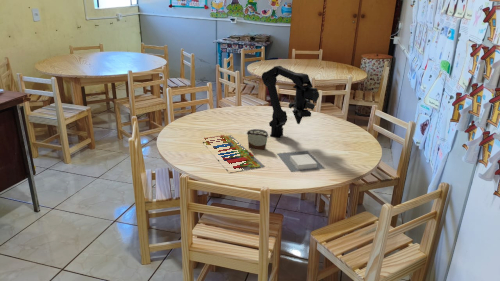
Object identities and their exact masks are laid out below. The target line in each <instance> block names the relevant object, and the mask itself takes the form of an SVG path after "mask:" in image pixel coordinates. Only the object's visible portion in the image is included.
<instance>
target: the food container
mask: <svg viewBox="0 0 500 281" xmlns="http://www.w3.org/2000/svg"><path fill="white" fill-rule="evenodd" d="M246 135H247V142H248V149H251V150H252V149H254V150H259V151H260V150H261V151H266V147H267V141H268V137H269V132H268V131H266V130H264V129H259V128H254V129H253V128H252V129H249V130H247V132H246Z"/></svg>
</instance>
